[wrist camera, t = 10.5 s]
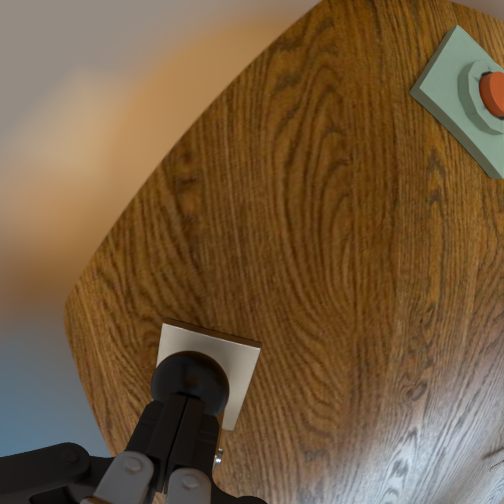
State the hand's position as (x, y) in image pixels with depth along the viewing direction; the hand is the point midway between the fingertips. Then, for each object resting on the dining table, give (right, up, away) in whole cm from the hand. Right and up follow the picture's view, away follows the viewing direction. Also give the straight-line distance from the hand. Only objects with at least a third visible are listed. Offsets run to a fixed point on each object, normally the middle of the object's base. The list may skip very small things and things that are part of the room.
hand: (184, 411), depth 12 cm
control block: (+24, +21, +11) cm, 34 cm away
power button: (+24, +20, +8) cm, 33 cm away
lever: (-1, -3, +6) cm, 7 cm away
